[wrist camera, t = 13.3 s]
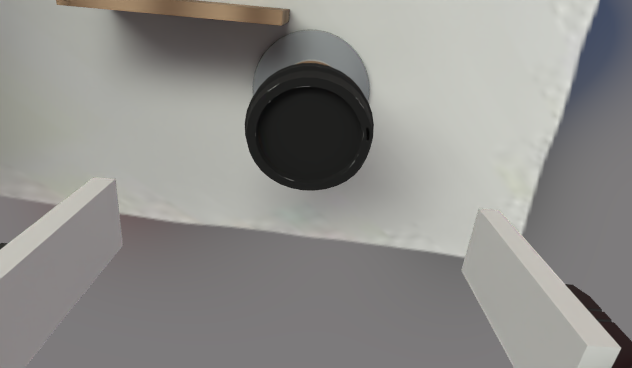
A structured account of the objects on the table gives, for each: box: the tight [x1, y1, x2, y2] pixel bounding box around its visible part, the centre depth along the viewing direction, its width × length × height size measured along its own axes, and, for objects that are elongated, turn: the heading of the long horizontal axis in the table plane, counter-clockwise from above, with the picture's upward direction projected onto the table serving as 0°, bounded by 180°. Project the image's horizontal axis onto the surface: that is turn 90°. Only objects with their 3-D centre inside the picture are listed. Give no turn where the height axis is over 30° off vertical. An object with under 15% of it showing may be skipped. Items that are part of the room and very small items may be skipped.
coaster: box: [253, 30, 369, 101], centre depth 39 cm, size 11×11×1 cm
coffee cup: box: [245, 59, 374, 190], centre depth 32 cm, size 8×8×15 cm
